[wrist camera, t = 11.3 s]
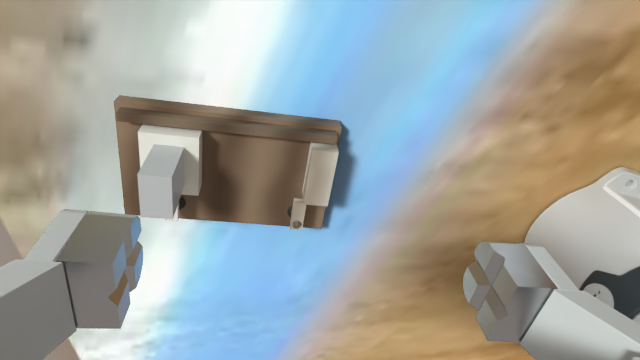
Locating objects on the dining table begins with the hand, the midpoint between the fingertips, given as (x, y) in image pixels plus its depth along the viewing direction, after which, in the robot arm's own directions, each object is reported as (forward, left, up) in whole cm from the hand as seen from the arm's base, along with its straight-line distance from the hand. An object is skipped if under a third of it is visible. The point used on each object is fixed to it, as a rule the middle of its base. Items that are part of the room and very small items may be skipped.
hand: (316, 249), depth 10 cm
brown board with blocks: (+4, +15, -29) cm, 33 cm away
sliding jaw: (+9, +15, -27) cm, 33 cm away
